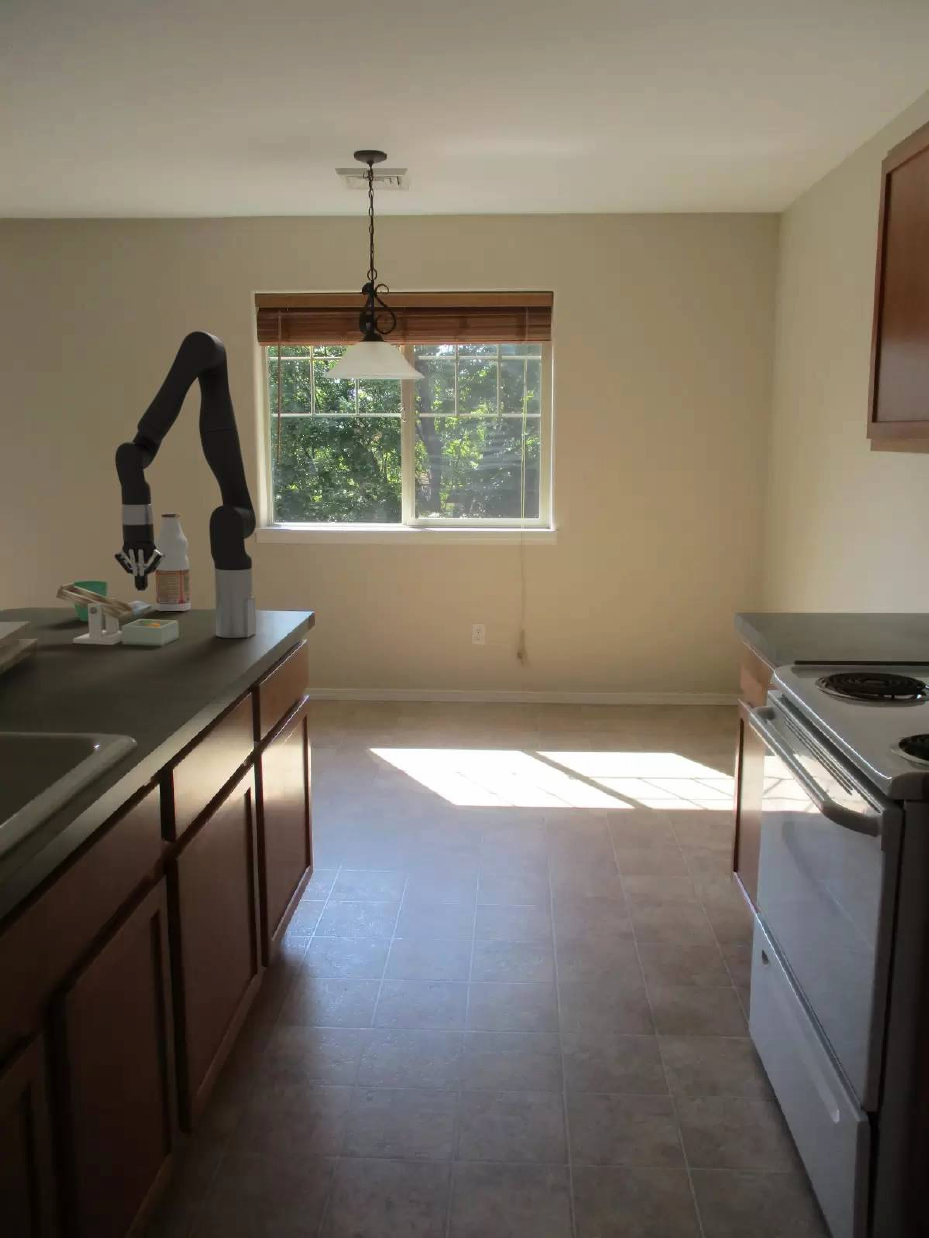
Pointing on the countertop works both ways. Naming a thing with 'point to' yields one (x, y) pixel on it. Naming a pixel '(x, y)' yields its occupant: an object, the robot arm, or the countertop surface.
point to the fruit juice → (172, 566)
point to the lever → (100, 601)
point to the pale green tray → (149, 632)
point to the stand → (100, 628)
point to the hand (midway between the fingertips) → (141, 590)
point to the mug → (91, 586)
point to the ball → (154, 625)
